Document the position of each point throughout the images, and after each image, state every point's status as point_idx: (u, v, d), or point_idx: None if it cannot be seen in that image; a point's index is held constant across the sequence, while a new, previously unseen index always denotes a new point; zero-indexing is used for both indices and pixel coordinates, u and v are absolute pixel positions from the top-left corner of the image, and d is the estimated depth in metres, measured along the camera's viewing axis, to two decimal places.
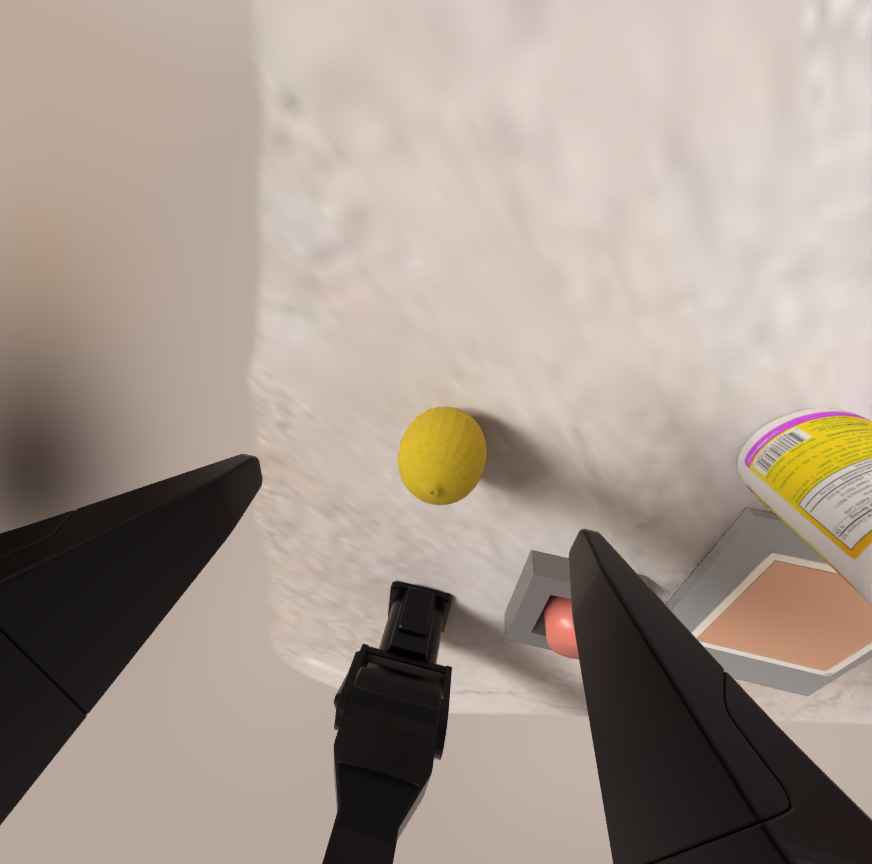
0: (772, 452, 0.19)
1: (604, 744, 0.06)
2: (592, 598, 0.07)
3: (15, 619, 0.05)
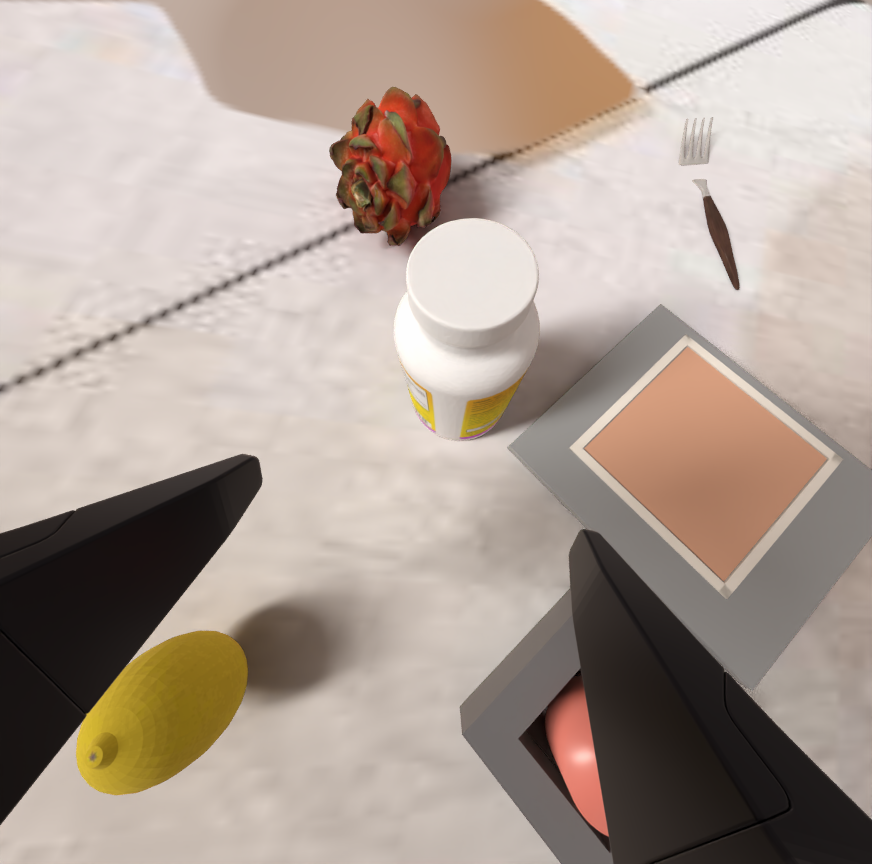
0: (417, 411, 0.21)
1: (604, 744, 0.06)
2: (592, 598, 0.07)
3: (15, 618, 0.05)
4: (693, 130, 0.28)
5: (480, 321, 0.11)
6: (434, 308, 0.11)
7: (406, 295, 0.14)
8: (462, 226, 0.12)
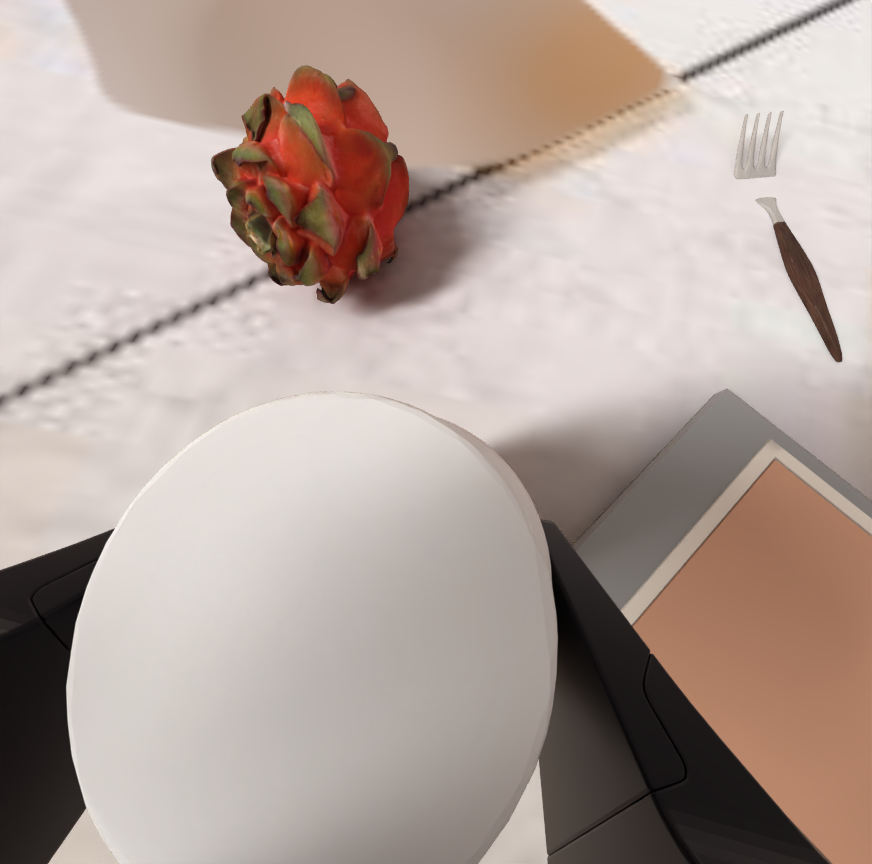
0: None
1: None
2: None
3: None
4: (755, 130, 0.20)
5: None
6: (135, 824, 0.03)
7: None
8: (299, 425, 0.04)
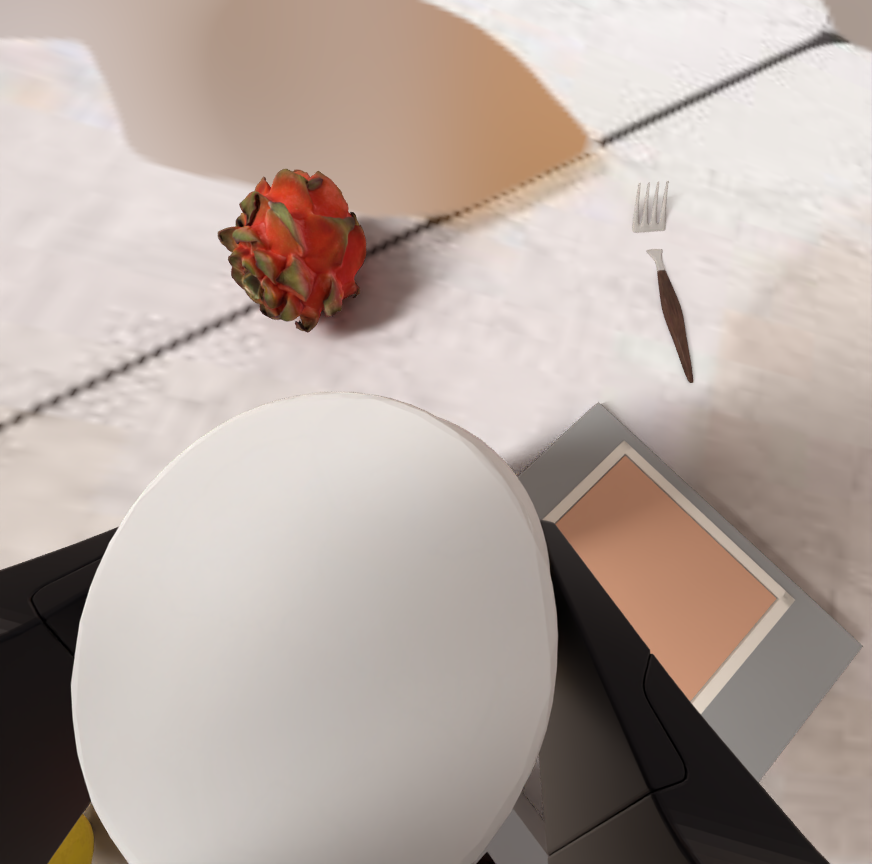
0: None
1: None
2: None
3: None
4: (647, 195, 0.25)
5: None
6: (141, 817, 0.03)
7: None
8: (302, 425, 0.04)
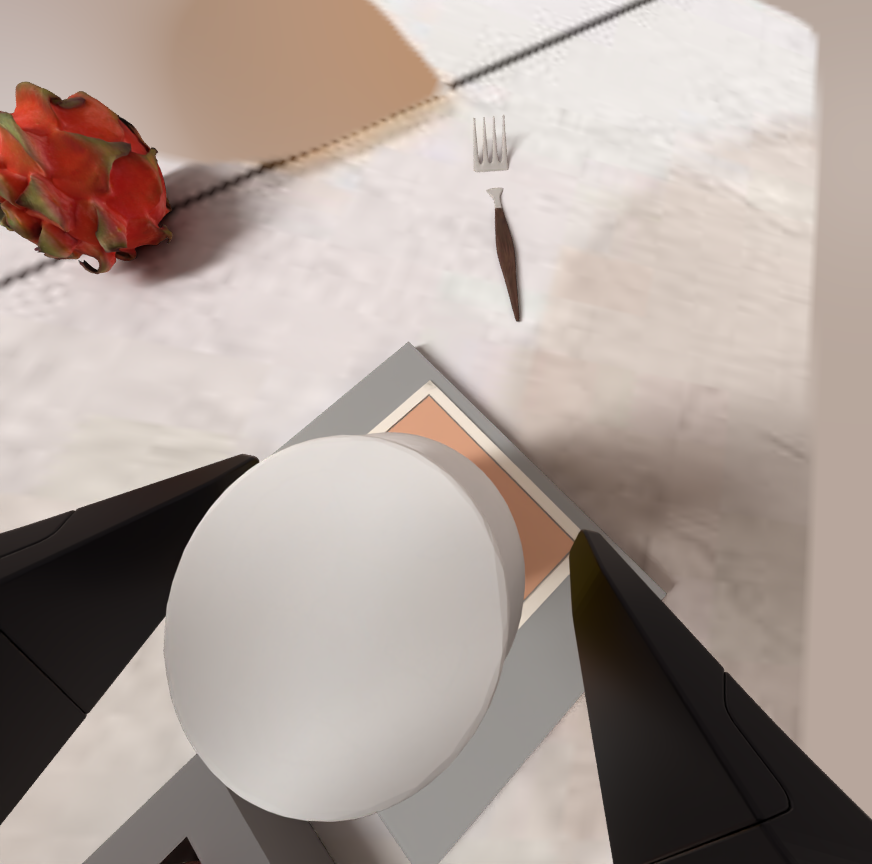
0: None
1: (604, 744, 0.06)
2: (592, 598, 0.07)
3: (15, 618, 0.05)
4: (484, 131, 0.24)
5: (341, 795, 0.04)
6: (217, 740, 0.04)
7: None
8: (323, 461, 0.05)
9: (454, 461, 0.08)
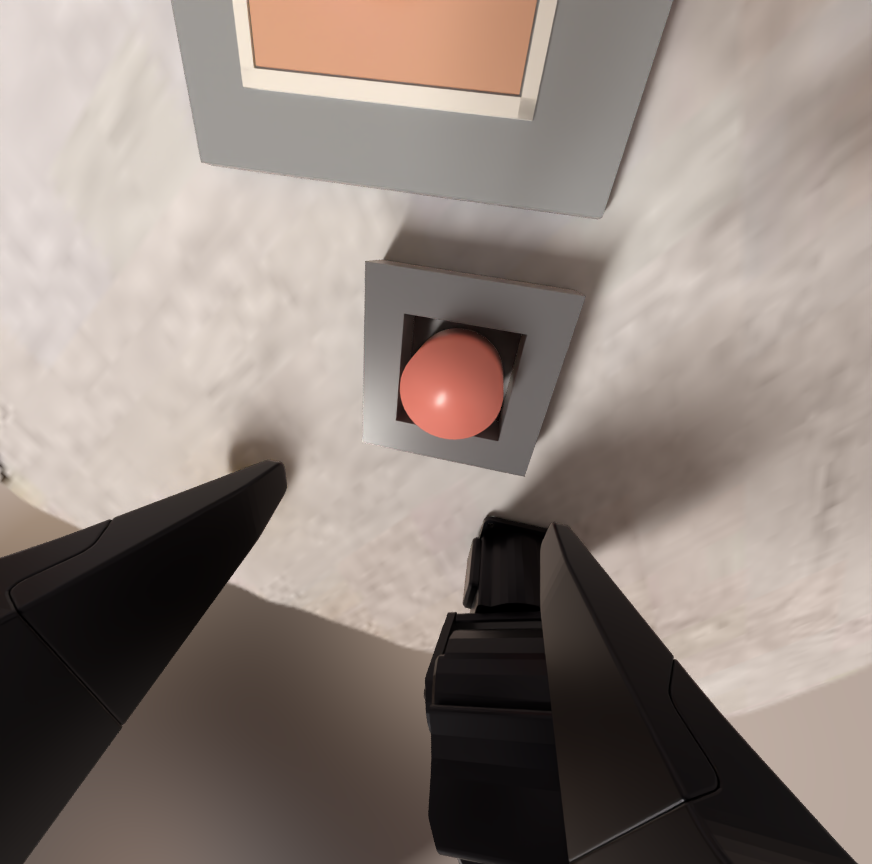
0: None
1: (563, 733, 0.06)
2: (557, 589, 0.07)
3: (60, 631, 0.05)
4: None
5: None
6: None
7: None
8: None
9: None
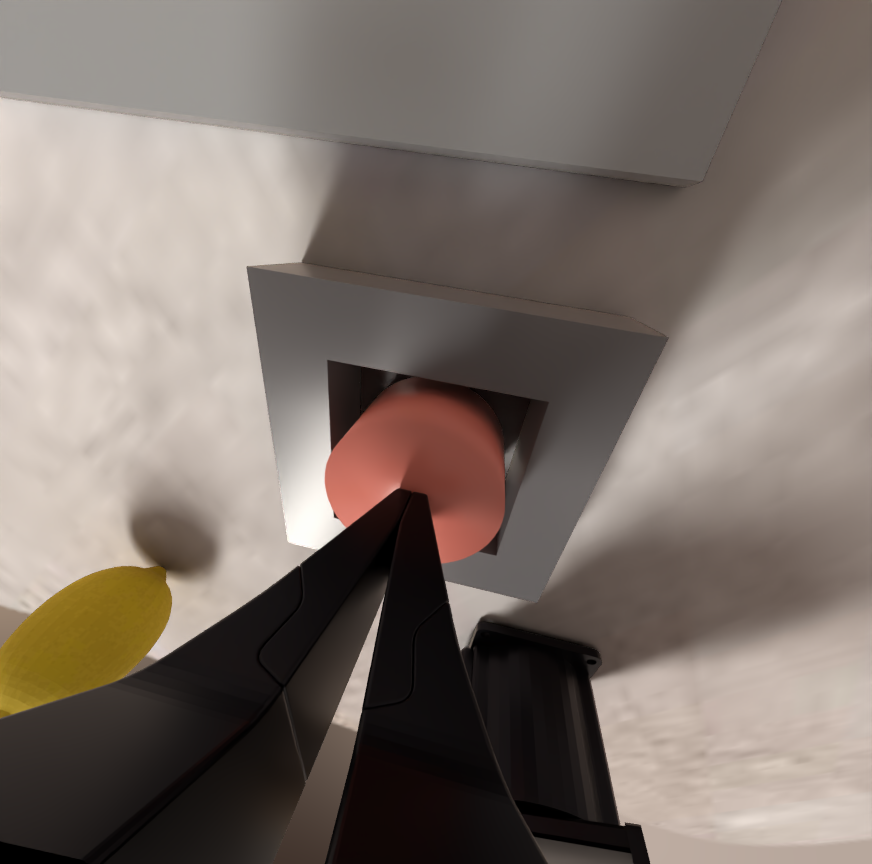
0: None
1: None
2: None
3: (297, 699, 0.04)
4: None
5: None
6: None
7: None
8: None
9: None
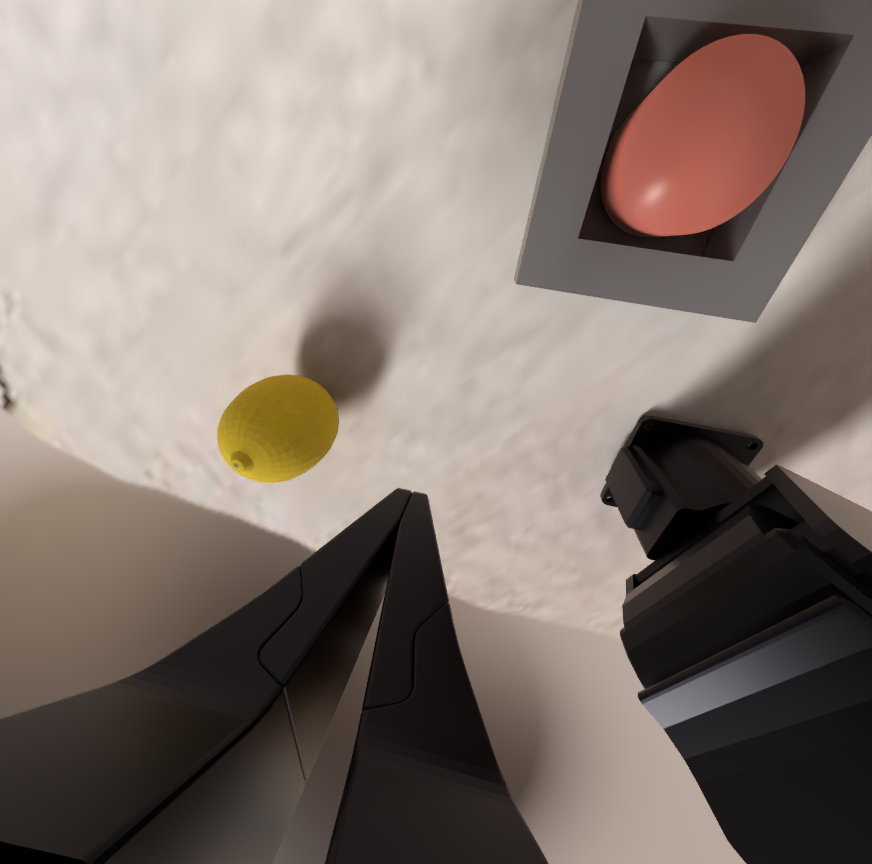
0: None
1: None
2: None
3: (297, 698, 0.04)
4: None
5: None
6: None
7: None
8: None
9: None
